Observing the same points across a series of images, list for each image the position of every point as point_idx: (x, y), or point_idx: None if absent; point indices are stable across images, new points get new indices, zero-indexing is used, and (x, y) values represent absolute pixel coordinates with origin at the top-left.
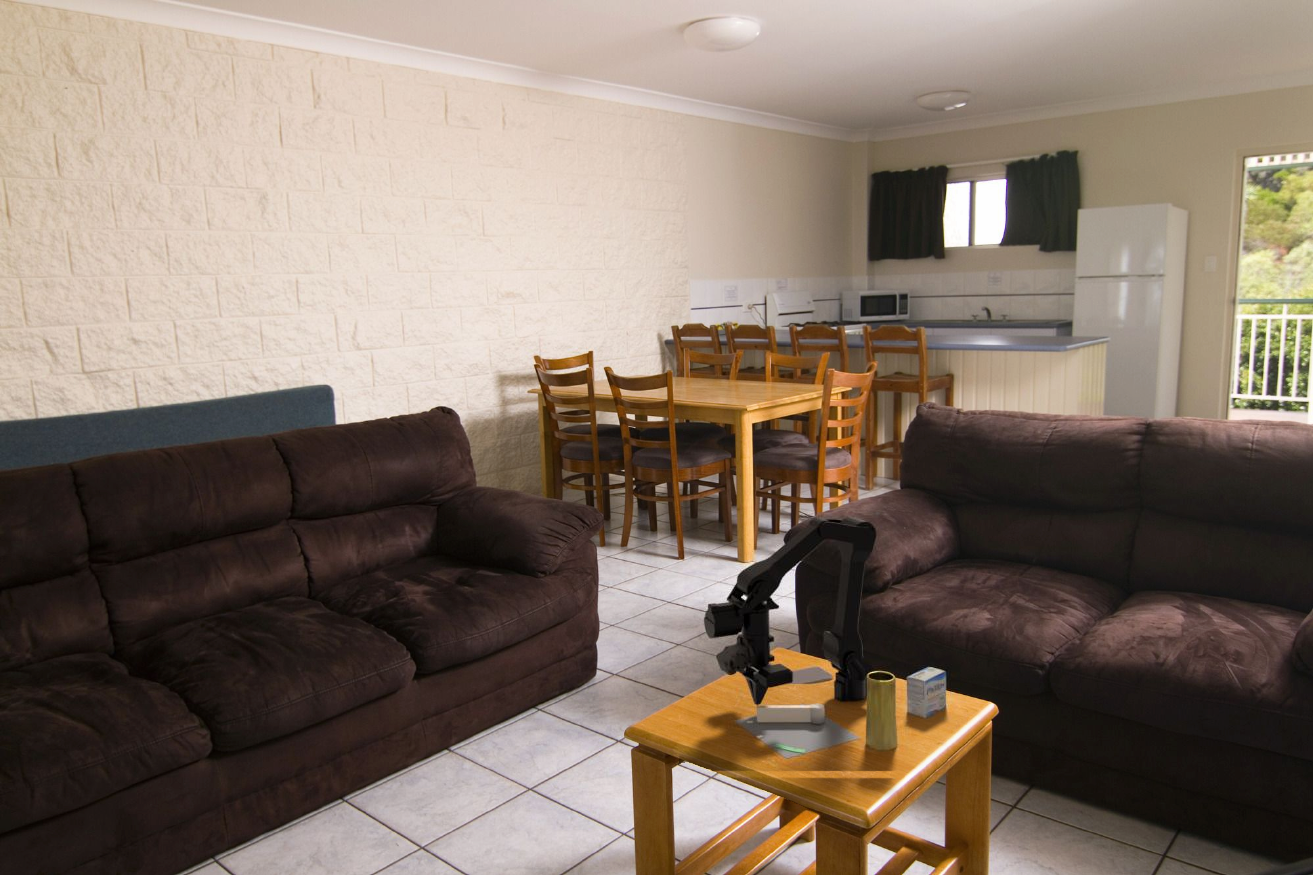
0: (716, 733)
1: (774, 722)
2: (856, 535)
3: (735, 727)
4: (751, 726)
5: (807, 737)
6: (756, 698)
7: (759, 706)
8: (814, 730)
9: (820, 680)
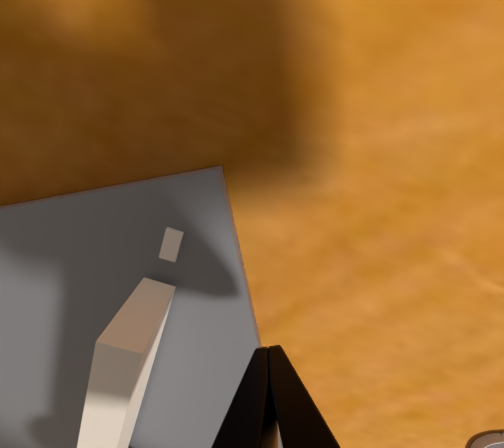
0: (141, 7)
1: None
2: None
3: (196, 162)
4: (118, 234)
5: None
6: (235, 393)
7: (122, 362)
8: (43, 430)
9: None
